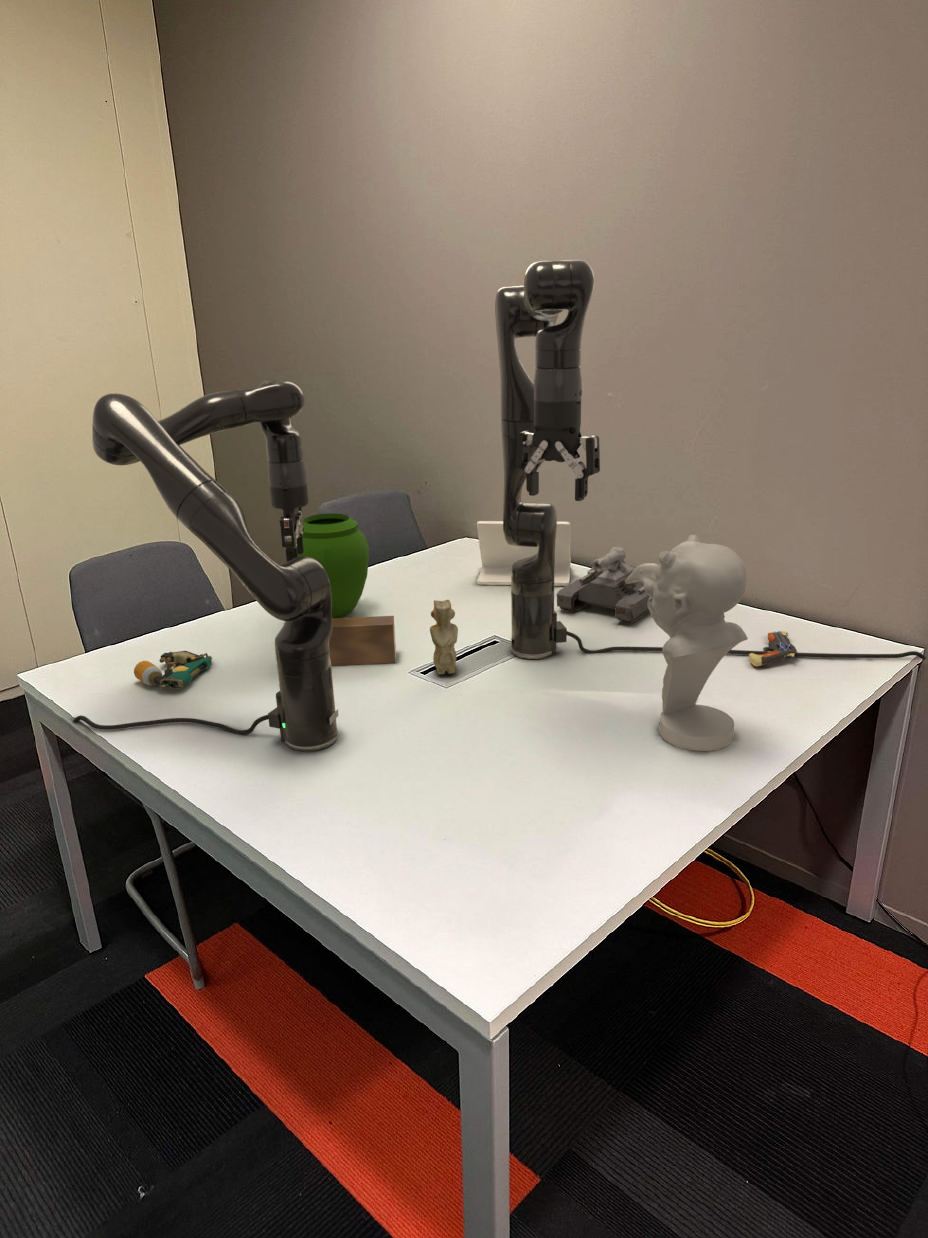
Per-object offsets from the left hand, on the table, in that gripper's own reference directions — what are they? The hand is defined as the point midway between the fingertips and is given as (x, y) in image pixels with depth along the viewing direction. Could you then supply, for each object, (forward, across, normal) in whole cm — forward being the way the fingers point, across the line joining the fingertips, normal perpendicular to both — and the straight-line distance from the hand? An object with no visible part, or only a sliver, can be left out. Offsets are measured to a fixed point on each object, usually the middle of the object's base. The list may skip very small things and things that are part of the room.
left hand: (295, 559), depth 178 cm
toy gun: (+23, +6, +100) cm, 103 cm away
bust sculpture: (+23, +38, +71) cm, 84 cm away
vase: (+23, -30, +3) cm, 38 cm away
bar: (+23, 0, +8) cm, 25 cm away
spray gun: (+23, +5, -26) cm, 36 cm away
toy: (+23, -28, +74) cm, 82 cm away
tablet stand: (+23, -55, +54) cm, 80 cm away
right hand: (-19, +34, +49) cm, 63 cm away
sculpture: (+23, +8, +30) cm, 39 cm away
